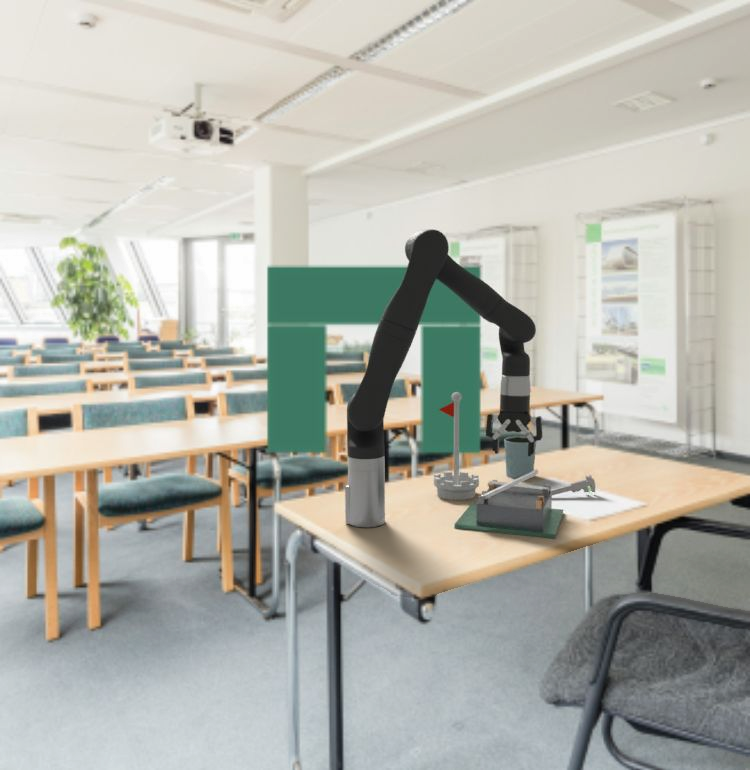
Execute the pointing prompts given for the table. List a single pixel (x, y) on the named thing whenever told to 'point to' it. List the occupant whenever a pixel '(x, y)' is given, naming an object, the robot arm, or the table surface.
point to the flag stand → (455, 464)
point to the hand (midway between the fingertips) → (513, 454)
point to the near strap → (510, 484)
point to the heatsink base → (472, 524)
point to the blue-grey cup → (518, 457)
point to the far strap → (519, 486)
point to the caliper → (576, 486)
